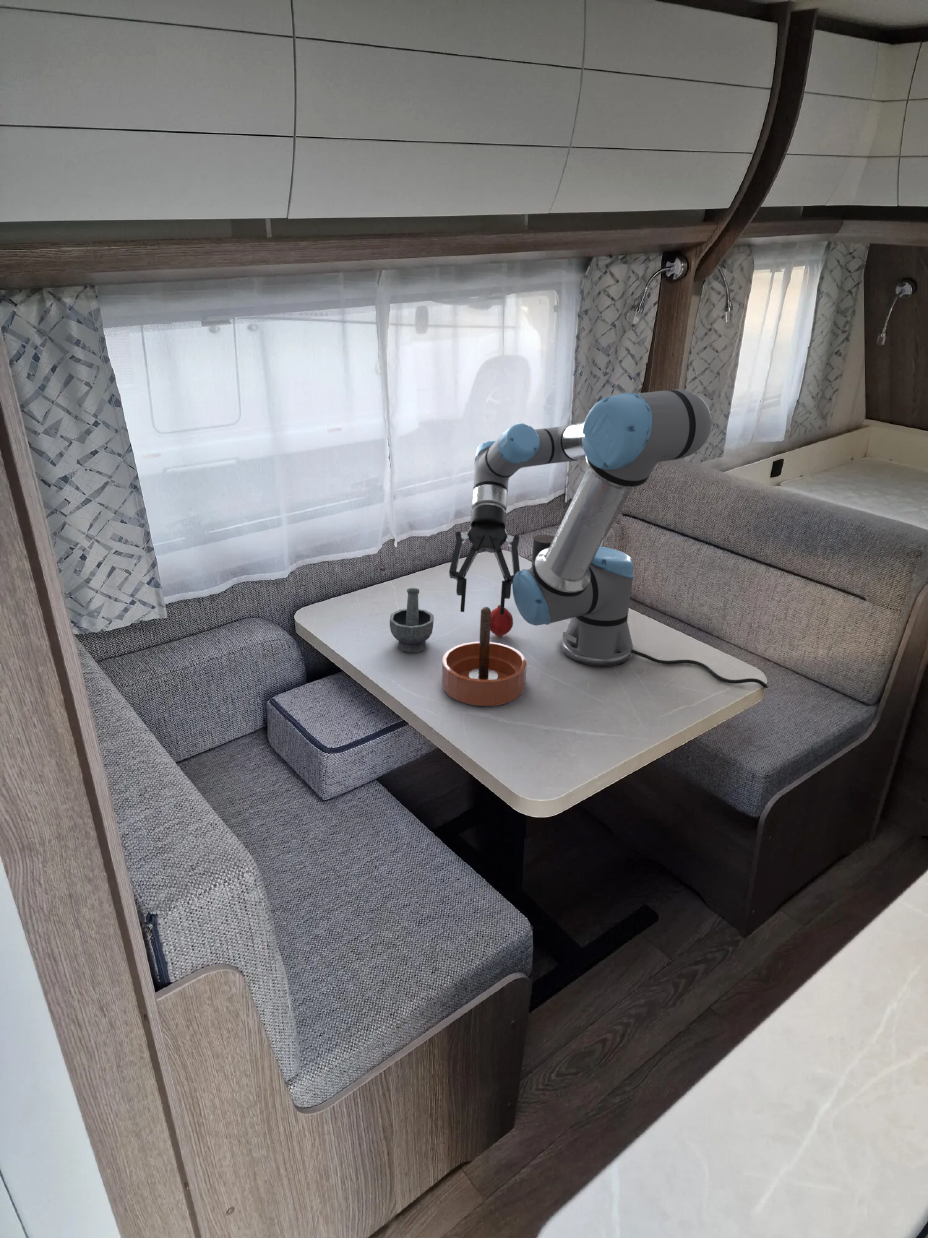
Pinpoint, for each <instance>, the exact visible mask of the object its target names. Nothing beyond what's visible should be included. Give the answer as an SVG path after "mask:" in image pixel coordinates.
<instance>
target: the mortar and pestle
mask: <svg viewBox="0 0 928 1238" xmlns="http://www.w3.org/2000/svg"><path fill="white" fill-rule="evenodd" d="M406 593H407V602H406V608H402V609H399V610H396V611H395V612H393V613H390V616H389V629H390V633H391V634H392V636H393V637H394V639H396V640H397V641H398V644H397V648H398V649H399V650H401V651H402V652H406V653H417V652H422V651H423V650H424V649H426V645H427V642H426V641H427V640H429V638H431V635H432V634H433V629H434V621H435V620H434V619H435V616H434V614H433V613H431V612H429V610H427V609H421V608H420V607H419V594H420V589H419V588H417V587H408V588H407V589H406Z"/></svg>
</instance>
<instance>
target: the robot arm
mask: <svg viewBox="0 0 928 1238" xmlns="http://www.w3.org/2000/svg"><path fill="white" fill-rule="evenodd" d="M712 420H713V419H712V414H711V410H710V407H709V406H708V405H707V402H705V400H703V398H702V397H700V396H699V395H698V394H696V393H694V392H692V391H690V390H685V389H677V388H674V389H667V390H658V391H657V390H656V391H648V392H647V391H646V392H639V393H638V392H637V393H634V392H622V393H619V394H615V395H609V396H606V397H604V398H602V399H600V400H598V401H597V402H596V403H595V404H594V405H593V406H592V407H591V408H590V409H589V412H588V413H587V415H586V417H585V419H584V421H582V422H577V423H573V424H571V423H570V424H565V425H561V426H553V427H546V428H545V427H544V428H536V429H535V428H534V427H532V426H531V425H528V424H525V423H523V422H518V423H514V424H513V425H511V426H510V427H509V428H507V429H506V430H505V431H503V432H502V433H501V434H500V436H499V437H498V438H497V439H496V440H487V441H485V442H481V443H480V444H479V445H478V446H477V448H476V452H475V457H474V473H473V488H472V498H471V500H472V501H471V502H472V503H471V511H470V512H471V514H470V527H469V529H468V530H467V531H466V532H461V531H459V530H458V531H456V532H455V534H454V537H455V546H454V549H453V553H452V558H451V562H450V566H449V571H448V575H449V578H450V579H454V580H456V591H455V592H456V595H457V596H461V598H460V613H465V610H466V609H465V607H466V595H467V577H466V576H467V574H468V572H469V570H470V568H471V566H472V565H473V563H474V561H475V559H476V557H477V555H478V553H490V554H494V557H495V559H496V561H497V564H498V567H499V569H500V572H501V576H502V578H503V580H501V588H500V589H501V590H500V605H501V606H500V615H504V608H505V601H506V600H510V598H511V595H513V600H514V603H515V606H516V609H517V611H518V613H519V615H521V617H522V618H523V620H524V621H525V622H526V623H528V624H529V625H532V626H542V625H546V626H547V625H550V624H554V623H557V622H561V621H566V620H570V619H571V620H570V621H569V623H568V626H567V628H566V630H565V631H563V633H562V645H561V649H562V651H563V653H564V654H565V655H566V656H567V657H568V658H570V659H571V660H573V661H575V662H577V663H581V664H584V665H588V666H594V667H612V666H617V665H622V664H623V663H626V662H627V661H629V660H630V659H631V657H632V656H633V655H636V656H639V657H642V658H644V659H647V660H649V661H651V662H653V663H656V664H662V665H679V664H689V665H696V666H698V667H701V668H703V669H704V670H705V671H706V672H708V673H709V674H710V675H711V676H712V677H714V678H715V679H717V680H718V681H720V682H723V683H725V684H733V685H734V684H735V685H738V684H747V683H756V684H759V685H760V686H762V687H763V688H765V689H768V688H769V686H768V685H767V684H766V683H765V682H764V681H763V680H760V679H759V678H755V677H753V678H752V677H751V678H750V677H749V678H740V679H729V678H726V677H723V676H720V675H719V674H718V673H716V672H715V671H714V670H713V669H711V667H709V666H708V665H706V664H705V663H703V662H701V661H697V660H693V659H674V660H673V659H672V660H665V659H664V660H663V659H659V658H655V657H653V656H651V655H648V654H646V653H644V652H641V651H639V650H636V649H633V648H634V645H633V640H632V635H631V632H630V627H629V623H628V619H629V618H628V617H629V610H630V609H629V608H630V603H631V594H632V587H633V581H634V561H633V559H632V557H631V556H630V555H628V554H627V553H625V552H623V551H621V550H618V549H615V548H611V547H606V546H602V545H603V543H604V541H605V539H606V538H607V536H608V534H609V532H610V530H611V528H612V526H613V525H614V523H615V521H616V519H617V517H618V516H619V514H620V512H621V510H622V508H623V507H624V504H625V503H626V501H627V499H628V497H629V496H630V494H631V492H632V490H633V489H634V488H638V487H641V486H643V485H644V484H646V483H647V482H648V480H649V478H650V475H651V474H652V473H653V471H654V468H655V467H656V466H657V464H659V463H661V462H667V461H668V462H669V461H675V460H680V459H684V458H687V457H689V456H691V455H693V454H695V453H697V452H698V451H699V450H700V449H701V448H702V447H703V446H704V445H705V444H706V443H707V440H708V439H709V436H710V434H711V431H712V425H713V423H712V422H713V421H712ZM579 460H580V461H581V460H585V461H586V464H587V466H588V467H587V469H586V471H585V474H584V475H583V477H582V479H581V481H580V484H578V488H577V490H576V491H575V494H574V496H573V498H572V500H571V502H570V504H569V506H568V509H567V510H566V512H565V515H564V517H563V518H562V521H561V523H560V525H559V527H558V529H557V531H556V533H555V535H554V539H553V541H552V543H551V545H550V548H547V549H544V550H542V551H541V552H540V553H539V554H538V555H537V557H536V559H535V561H534V563H533V565H532V564H531V567H529V568H528V569H527V568H522V569H521V568H520V558H519V549H518V547H519V543H520V535H518V534H515V535H514V536H513V535H510V534H508V532H507V529H506V526H507V509H508V497H509V496H508V493H509V480H510V478H511V477H512V476H513V475H515V474H516V473H517V472H518V471H519V470H520V469H522V468H528V467H530V468H531V467H537V466H543V465H548V464H549V465H550V464H551V465H552V464H559V463H567V462H568V463H569V462H577V461H579ZM467 539H468V540H469V542H470V543H471V544H472V545H471V547H470V550H469V551H468V554H467V556H466V557H465V559H464V561H463V563H462V564H461V567H460V569H459V571H457V569H458V566H459V561H460V558H461V554H462V549H463V544H465V543H466V540H467ZM506 542H507V544H508V546H509V547H511V549H510V551H511V552H510V554H511V563H512V564H511V565H512V575H511V571H510V570H509V567H508V563H507V561H506V559H505V556H504V553H503V551H502V550H503V548H502V546H503V545H504V543H506Z"/></svg>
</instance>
